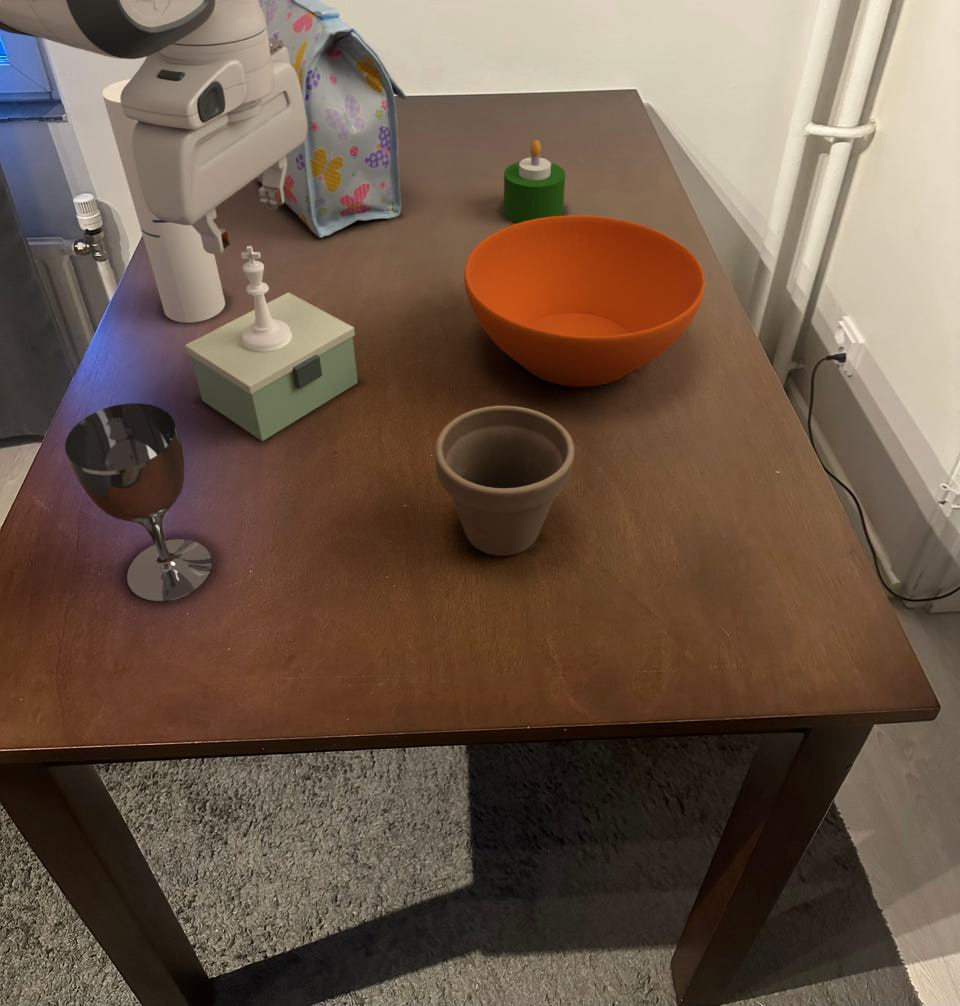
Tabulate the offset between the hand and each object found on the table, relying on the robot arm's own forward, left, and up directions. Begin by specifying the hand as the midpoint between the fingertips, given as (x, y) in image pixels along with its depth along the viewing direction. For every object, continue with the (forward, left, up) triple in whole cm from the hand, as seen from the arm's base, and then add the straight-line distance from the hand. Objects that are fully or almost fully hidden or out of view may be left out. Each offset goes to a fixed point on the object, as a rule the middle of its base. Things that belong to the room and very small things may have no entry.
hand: (246, 227), depth 82 cm
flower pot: (0, -31, -19) cm, 36 cm away
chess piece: (0, 0, -12) cm, 12 cm away
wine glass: (-22, -13, -19) cm, 32 cm away
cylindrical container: (+4, +21, -19) cm, 29 cm away
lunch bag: (+34, +30, -19) cm, 49 cm away
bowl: (+27, -19, -19) cm, 38 cm away
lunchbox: (0, 0, -19) cm, 19 cm away
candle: (+50, +6, -19) cm, 54 cm away
